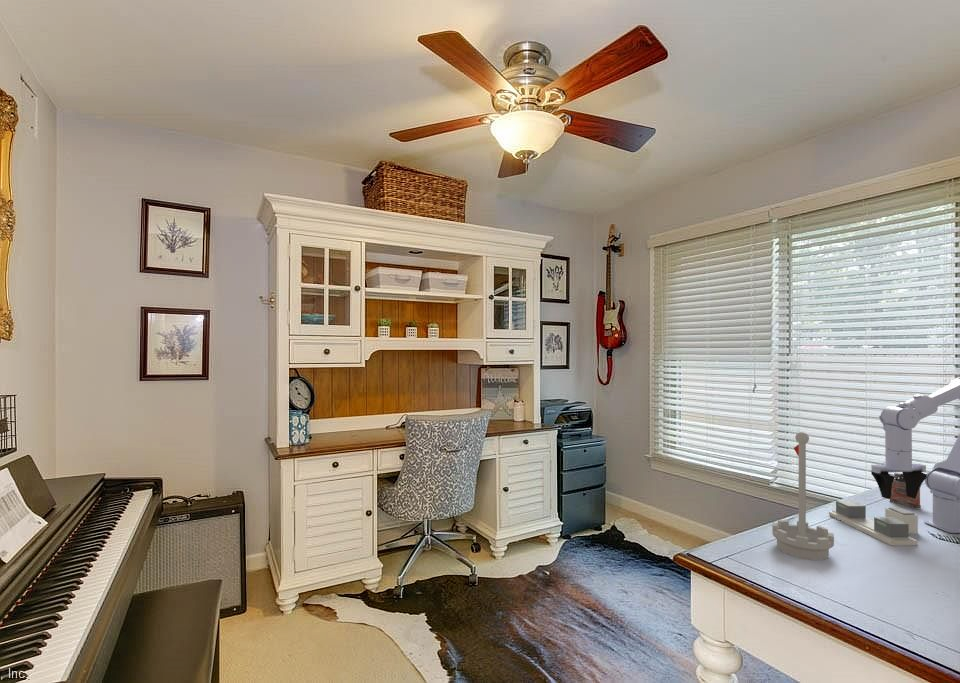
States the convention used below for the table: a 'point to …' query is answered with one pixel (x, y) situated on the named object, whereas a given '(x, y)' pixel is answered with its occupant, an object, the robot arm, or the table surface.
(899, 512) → the module block
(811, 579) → the table surface
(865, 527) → the board
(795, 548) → the flag stand
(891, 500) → the lighter
